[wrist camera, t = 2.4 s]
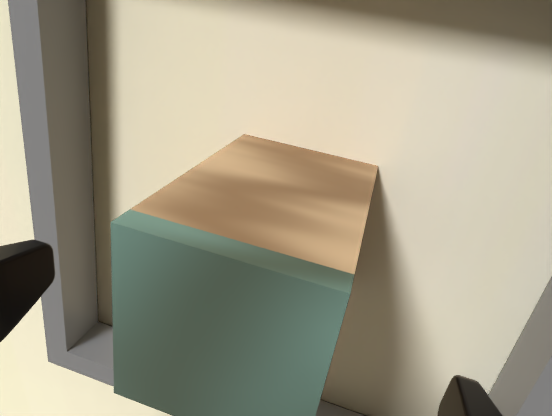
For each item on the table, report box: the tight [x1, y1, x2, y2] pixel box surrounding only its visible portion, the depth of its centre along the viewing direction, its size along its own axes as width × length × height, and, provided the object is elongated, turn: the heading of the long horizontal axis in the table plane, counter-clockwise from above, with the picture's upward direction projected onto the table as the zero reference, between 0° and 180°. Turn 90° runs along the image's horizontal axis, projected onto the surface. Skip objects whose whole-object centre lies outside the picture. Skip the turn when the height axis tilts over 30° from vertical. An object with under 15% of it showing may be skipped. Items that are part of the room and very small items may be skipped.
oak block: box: [111, 134, 378, 416], centre depth 11 cm, size 4×4×7 cm
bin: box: [8, 0, 552, 416], centre depth 13 cm, size 18×18×2 cm
